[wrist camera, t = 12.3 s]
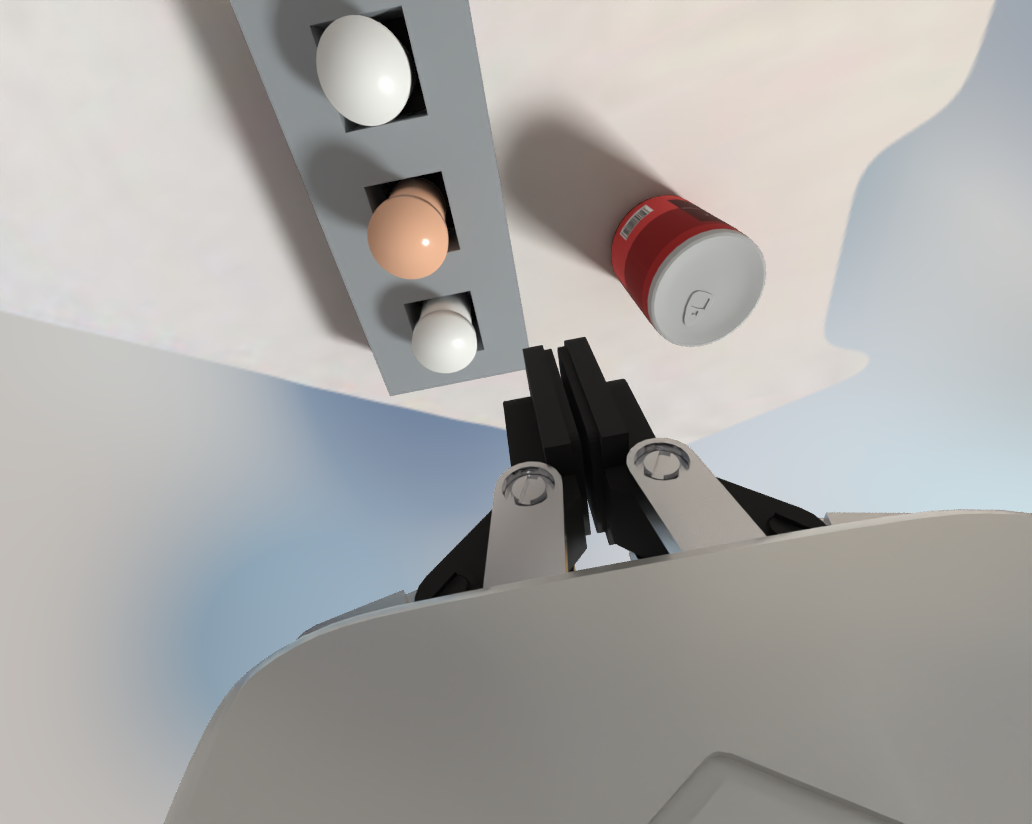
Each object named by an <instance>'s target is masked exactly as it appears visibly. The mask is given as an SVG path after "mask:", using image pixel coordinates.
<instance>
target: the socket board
mask: <svg viewBox="0 0 1032 824" xmlns="http://www.w3.org/2000/svg"><path fill="white" fill-rule="evenodd" d="M229 1H230V3H231V6H232V8H233V11H234V13H235V15H236V18H237V20H238V23H239V25H240V28H241V30H242V33H243V35H244V38H245V40H246V43H247V45H248V47H249V50H250V52H251V55H252V57H253V60H254V62H255V65H256V67H257V70H258V72H259V75H260V77H261V79H262V82H263V84H264V87H265V89H266V92H267V94H268V97H269V99H270V102H271V104H272V107H273V109H274V111H275V114H276V116H277V119H278V121H279V124H280V126H281V129H282V131H283V134H284V136H285V139H286V141H287V143H288V146H289V148H290V151H291V153H292V156H293V158H294V161H295V163H296V166H297V168H298V171H299V173H300V175H301V178H302V180H303V183H304V185H305V188H306V190H307V193H308V195H309V198H310V200H311V203H312V205H313V207H314V210H315V212H316V215H317V217H318V220H319V222H320V225H321V227H322V230H323V232H324V235H325V237H326V239H327V242H328V244H329V247H330V249H331V252H332V254H333V257H334V259H335V262H336V264H337V267H338V269H339V271H340V274H341V276H342V279H343V281H344V284H345V286H346V289H347V291H348V294H349V296H350V299H351V301H352V303H353V306H354V308H355V311H356V313H357V316H358V318H359V321H360V323H361V326H362V328H363V331H364V333H365V335H366V338H367V340H368V343H369V345H370V348H371V350H372V353H373V355H374V358H375V360H376V363H377V365H378V367H379V370H380V372H381V375H382V377H383V380H384V382H385V385H386V387H387V390H388V392H389V395H390V396H393V395H398V394H403V393H409V392H414V391H419V390H424V389H429V388H434V387H439V386H444V385H449V384H454V383H459V382H464V381H469V380H474V379H479V378H485V377H490V376H495V375H500V374H505V373H510V372H515V371H520V370H525V369H526V367H525V362H524V356H523V350H522V349H524V348H529V345H528V339H527V333H526V327H525V322H524V316H523V310H522V304H521V299H520V293H519V287H518V282H517V276H516V270H515V264H514V259H513V253H512V247H511V242H510V236H509V230H508V224H507V219H506V213H505V207H504V201H503V196H502V190H501V184H500V179H499V173H498V167H497V161H496V156H495V150H494V144H493V139H492V133H491V127H490V121H489V116H488V110H487V104H486V99H485V93H484V87H483V81H482V76H481V70H480V64H479V58H478V53H477V47H476V41H475V36H474V30H473V24H472V18H471V13H470V7H469V1H468V0H229ZM348 15H361V16H365V17H368V18H371V19H373V20H375V21H377V22H381V21H386V20H390V19H395V18H400V17H405V22H406V26H407V30H408V34H409V38H410V42H411V47H412V51H413V55H414V59H415V63H416V67H417V71H418V76H419V80H420V84H421V88H422V92H423V96H424V101H425V105H426V110H422V111H417V112H412V113H407V114H403V115H398V116H396V117H395V118H393V119H392V120H390V121H389V122H387V123H385V124H382V125H377V126H366V125H361V124H358V123H355V122H353V121H351V120H349V119H347V118H346V117H344V116H343V115H342V114H341V113H339V112H338V111H337V110H336V109H335V108H334V106H333V105H332V104H331V103H330V101H329V100H328V98H327V97H326V95H325V93H324V91H323V89H322V87H321V84H320V81H319V78H318V73H317V66H316V54H317V48H318V44H319V41H320V38H321V36H322V34H323V33H324V31H325V30H326V28H327V27H328V26H329V25H330V24H331V23H333V22H334V21H335V20H337V19H339V18H341V17H344V16H348ZM439 171H442V175H443V180H444V184H445V188H446V192H447V196H448V200H449V204H450V209H451V213H452V217H453V221H454V225H455V227H454V228H449V229H448V238H449V239H448V250H447V254H446V257H445V259H444V261H443V263H442V264H441V266H440V267H439V268H438V269H437V270H436V271H435V272H434V273H432V274H430V275H429V276H426V277H423V278H420V279H404V278H400V277H397V276H395V275H393V274H391V273H389V272H388V271H386V270H385V269H384V268H382V267H381V266H380V265H379V264H378V262H377V261H376V260H375V258H374V257H373V255H372V253H371V251H370V248H369V244H368V239H367V231H368V225H369V222H370V219H371V217H372V215H373V214H374V212H375V210H376V209H377V208H378V206H379V205H380V204H381V203H382V202H383V201H385V200H386V197H385V193H384V190H383V187H382V183H386V182H391V181H396V180H401V179H406V178H410V177H415V176H420V175H425V174H430V173H434V172H439ZM466 291H470V292H471V296H472V300H473V304H474V308H475V313H476V317H477V319H472V325H473V327H474V329H475V332H476V338H477V350H476V354H475V356H474V358H473V360H472V361H471V362H470V364H469V365H467V366H466V367H465V368H463V369H461V370H459V371H457V372H453V373H438V372H434V371H431V370H429V369H427V368H426V367H424V366H423V365H422V364H421V363H420V362H419V361H418V360H417V359H416V357H415V355H414V353H413V350H412V337H413V331H414V328H415V326H416V324H417V322H418V321H419V320H420V314H421V308H420V305H419V301H422V300H427V299H432V298H437V297H442V296H447V295H452V294H457V293H462V292H466Z"/></svg>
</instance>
